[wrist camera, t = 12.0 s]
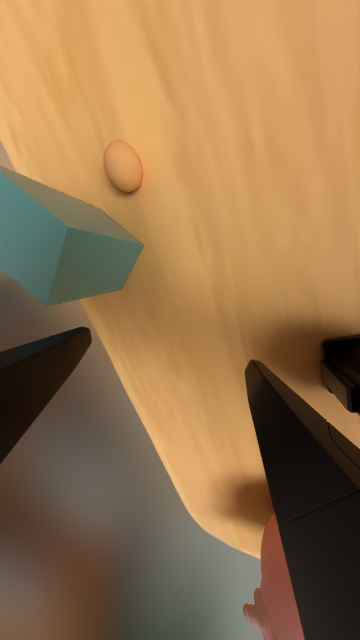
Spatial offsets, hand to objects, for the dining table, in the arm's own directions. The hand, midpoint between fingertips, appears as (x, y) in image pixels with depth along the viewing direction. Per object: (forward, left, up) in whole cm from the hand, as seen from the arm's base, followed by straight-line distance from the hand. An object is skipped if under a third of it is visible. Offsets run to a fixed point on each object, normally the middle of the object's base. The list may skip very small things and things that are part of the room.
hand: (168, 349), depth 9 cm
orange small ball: (+3, -15, -11) cm, 18 cm away
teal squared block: (+9, -9, -11) cm, 17 cm away
